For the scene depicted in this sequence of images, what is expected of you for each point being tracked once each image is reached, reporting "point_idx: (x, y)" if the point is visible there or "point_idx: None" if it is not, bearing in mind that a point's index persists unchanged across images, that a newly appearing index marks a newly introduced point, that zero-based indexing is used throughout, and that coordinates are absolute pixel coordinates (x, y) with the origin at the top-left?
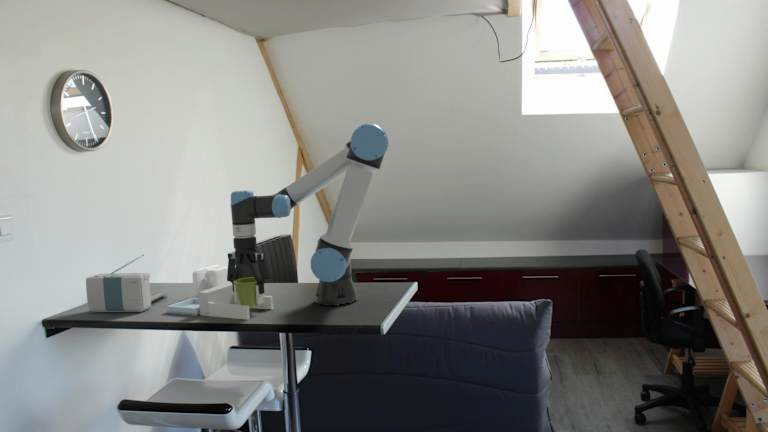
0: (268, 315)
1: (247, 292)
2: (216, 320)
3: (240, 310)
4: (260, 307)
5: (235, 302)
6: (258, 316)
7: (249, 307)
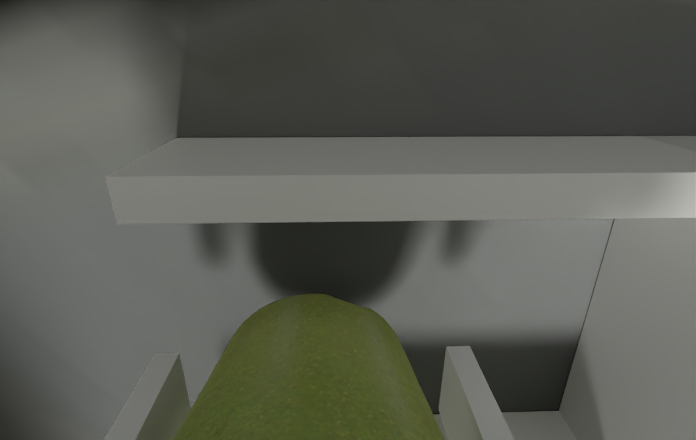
0: (115, 303)
1: (199, 434)
2: (476, 19)
3: (235, 158)
4: None
5: (465, 346)
6: (171, 257)
7: None
